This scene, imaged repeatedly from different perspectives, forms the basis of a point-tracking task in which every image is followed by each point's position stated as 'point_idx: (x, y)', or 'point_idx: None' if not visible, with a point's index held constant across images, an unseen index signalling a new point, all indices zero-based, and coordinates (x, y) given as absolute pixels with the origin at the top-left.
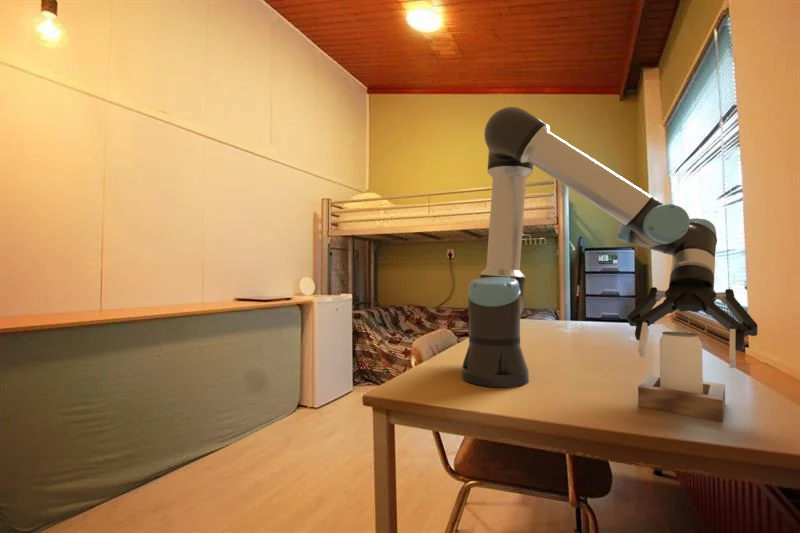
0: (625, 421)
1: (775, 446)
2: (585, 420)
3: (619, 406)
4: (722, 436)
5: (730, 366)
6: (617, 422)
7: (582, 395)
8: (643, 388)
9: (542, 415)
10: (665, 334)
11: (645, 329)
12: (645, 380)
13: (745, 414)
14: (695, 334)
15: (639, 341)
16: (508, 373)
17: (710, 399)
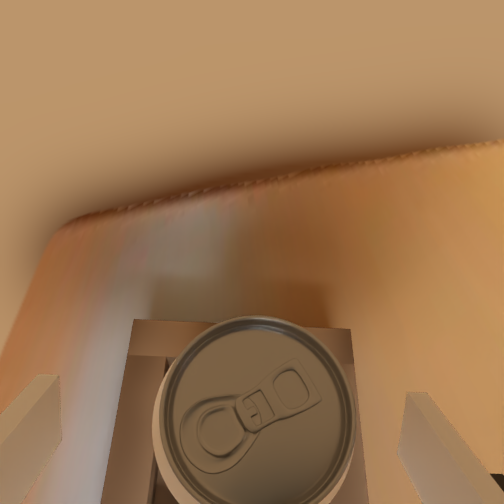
0: (327, 224)
1: (72, 247)
2: (387, 190)
3: (371, 316)
4: (157, 246)
5: (59, 429)
6: (337, 211)
7: (484, 356)
8: (334, 329)
9: (457, 173)
10: (323, 344)
11: (476, 488)
12: (356, 436)
13: (69, 465)
14: (174, 457)
15: (446, 418)
16: None
17: (162, 321)
